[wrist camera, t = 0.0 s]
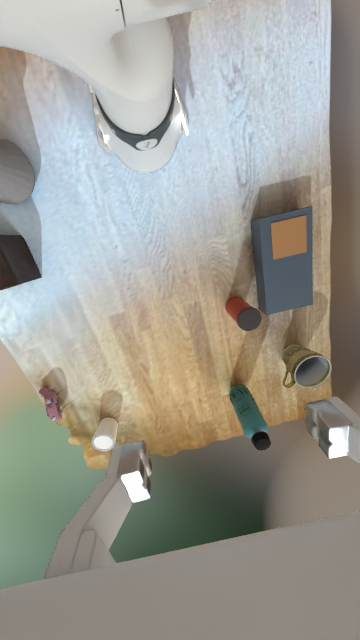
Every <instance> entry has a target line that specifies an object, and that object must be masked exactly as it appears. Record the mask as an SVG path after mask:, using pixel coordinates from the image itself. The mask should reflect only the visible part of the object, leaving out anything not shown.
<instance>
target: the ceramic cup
mask: <svg viewBox="0 0 360 640" xmlns="http://www.w3.org/2000/svg"><path fill="white" fill-rule="evenodd" d="M282 360H283V361H284V363H285V365H286V367H287V371H286V374H285V377H284V380H283V385H284V386H285V387H288V388H289V387H292V386H293V385H294V384H295V382H296V383H297V384H298V385H299V386H301V387H304V388H313V387H316V386H319V385H320V384H322V383H323V382H324V381H326V379H327V378H328V377H329V375H330V373H331V363H330V361H329V360H328V359H327V358H326V357H324V356H322V355H320V354H318V353H316V352H314V351H311V350H309V349H307V348H305V347H303V346H301V345H289V346H288V347H287V348H285V349H284V350H283V353H282ZM288 372H290V373H291V378H292V380H291V382H290V383H289V384H288V385H285V380H286V378H287V374H288Z"/></svg>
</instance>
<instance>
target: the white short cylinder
mask: <svg viewBox="0 0 360 640" xmlns="http://www.w3.org/2000/svg"><path fill="white" fill-rule="evenodd" d="M117 426H118V424H117V421H116V420H115V419H113V418H110V417H108V418H104V419H102V420H101V422H100V424H99V426H98V428H97V430H96V432H95V434H94V436H93V438H92V441H91V443H92V446H93V447H94V448H95V449H97V450H100V451H108V450H110V449H112V448H113V447H114V445H115V440H116V433H117Z"/></svg>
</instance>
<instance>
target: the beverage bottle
mask: <svg viewBox="0 0 360 640" xmlns="http://www.w3.org/2000/svg"><path fill="white" fill-rule="evenodd" d="M229 396H230V400H231V402H232V404H233V406H234V409H235V411H236V414H237V416H238V419H239V421H240V423H241V426H242V428H243V431H244V434H245V435H246V436H247V437H248V438H251V440H252V443H253V444H254V446H255V447H256V449H258V450H265V449H267V448H269V446H270V445H271V442H270V439H269V436H268V434H267V433H266V432H267V430H268V425H267V423H266V422H265V420H264V418H263V416H262V414H261V413H260V411H259V408H258V407H257V405H256V403H255V401H254V398H253V397H252V394H251V393H250V391H249V390H248V389H247V388H246V387H245V386H243V385H237V386H235V387H233V388H232V389H231V390H230V393H229Z"/></svg>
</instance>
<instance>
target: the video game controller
mask: <svg viewBox="0 0 360 640" xmlns="http://www.w3.org/2000/svg"><path fill="white" fill-rule="evenodd" d="M39 393H40V394H41V395H42V396H43V397H44V399H45V404H46V411H47V415H48V417H50V418H51V419H52V420H53V421H56V420H60V419H62V413H63V414H64V411H63V410H62V411H61V410H60V405H59V402H58V401H57V397H58V395H56V393H55V392H54V391H53V390H51V389H50V388H46V387H44V388H41V389H40V390H39Z"/></svg>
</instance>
